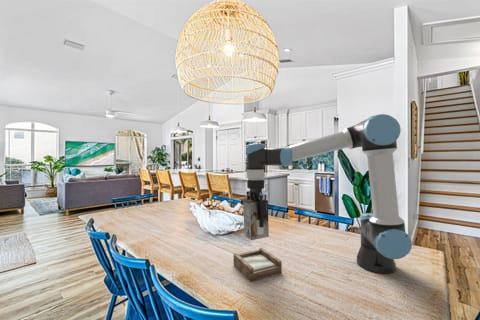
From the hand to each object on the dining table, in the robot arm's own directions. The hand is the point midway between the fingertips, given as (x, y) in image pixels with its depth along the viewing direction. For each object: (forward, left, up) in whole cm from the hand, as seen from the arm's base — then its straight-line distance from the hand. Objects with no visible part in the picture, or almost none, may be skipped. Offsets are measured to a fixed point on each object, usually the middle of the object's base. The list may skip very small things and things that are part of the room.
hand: (256, 231), depth 101 cm
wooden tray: (0, 0, -16) cm, 16 cm away
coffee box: (0, 0, -2) cm, 2 cm away
